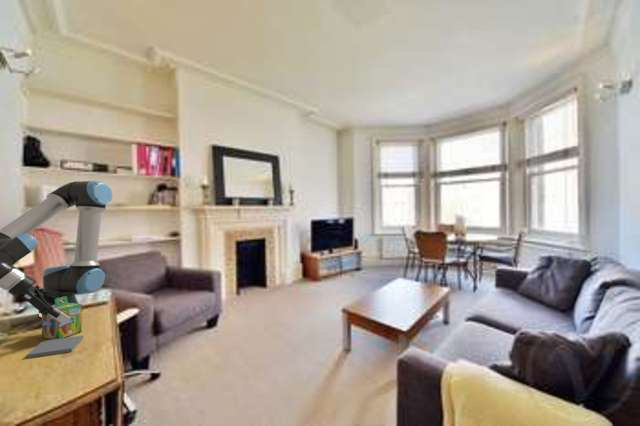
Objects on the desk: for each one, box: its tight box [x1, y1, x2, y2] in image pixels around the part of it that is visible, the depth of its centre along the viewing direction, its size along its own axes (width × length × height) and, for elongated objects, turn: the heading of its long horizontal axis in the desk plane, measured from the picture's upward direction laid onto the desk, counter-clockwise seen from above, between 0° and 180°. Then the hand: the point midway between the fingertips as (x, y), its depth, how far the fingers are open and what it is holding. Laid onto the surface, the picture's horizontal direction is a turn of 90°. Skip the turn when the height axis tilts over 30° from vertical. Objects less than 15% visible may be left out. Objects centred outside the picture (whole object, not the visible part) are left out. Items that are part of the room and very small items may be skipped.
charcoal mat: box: [26, 335, 84, 359], centre depth 108 cm, size 12×12×1 cm
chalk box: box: [41, 296, 83, 340], centre depth 119 cm, size 9×9×15 cm
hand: (69, 316), depth 121 cm, fingers closed on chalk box, 12 cm apart
